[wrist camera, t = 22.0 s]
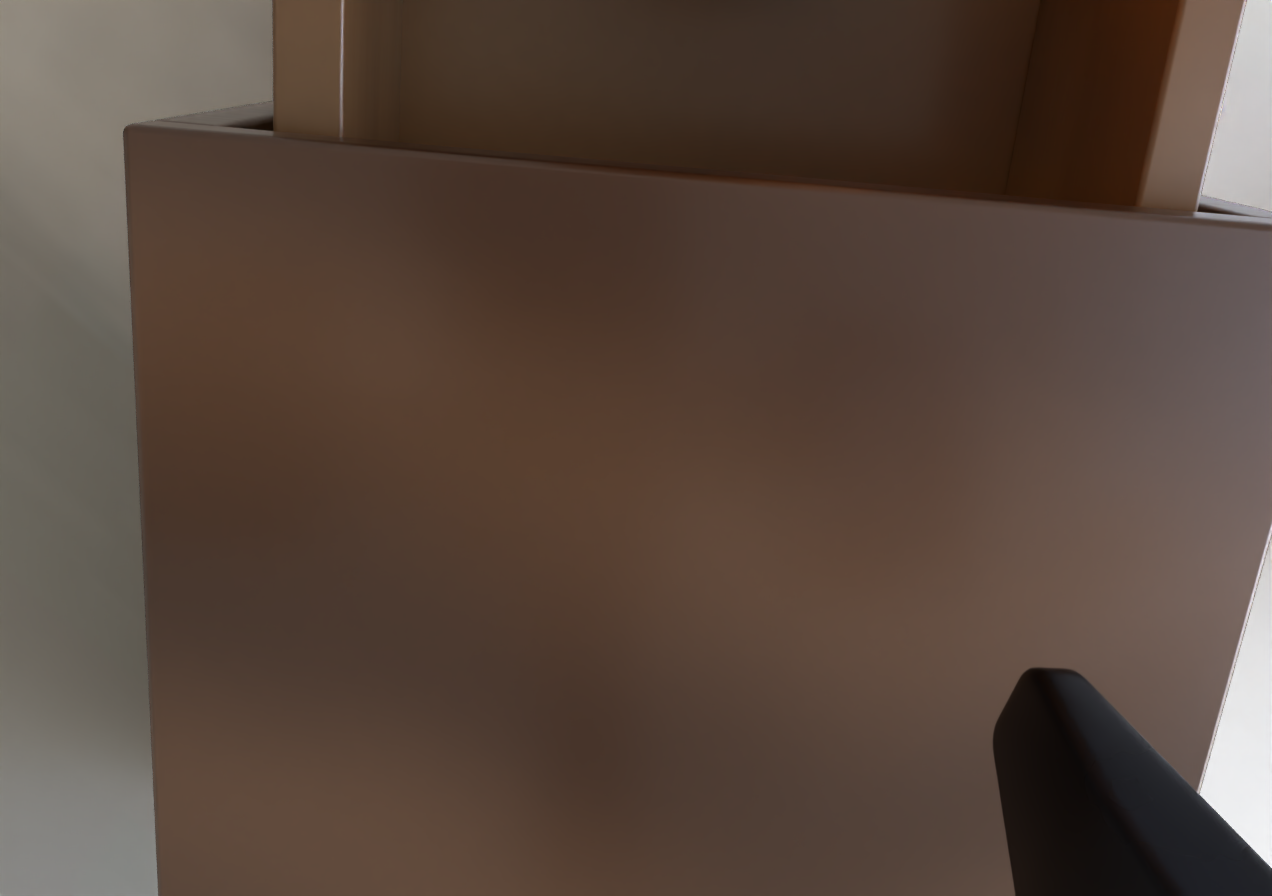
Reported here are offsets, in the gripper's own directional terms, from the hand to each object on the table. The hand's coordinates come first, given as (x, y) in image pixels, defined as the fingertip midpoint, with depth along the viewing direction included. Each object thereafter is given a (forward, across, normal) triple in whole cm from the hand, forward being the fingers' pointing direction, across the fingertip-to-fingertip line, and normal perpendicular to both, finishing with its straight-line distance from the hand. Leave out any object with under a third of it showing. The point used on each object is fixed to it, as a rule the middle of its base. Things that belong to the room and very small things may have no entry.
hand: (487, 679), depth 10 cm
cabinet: (+10, -3, +7) cm, 13 cm away
